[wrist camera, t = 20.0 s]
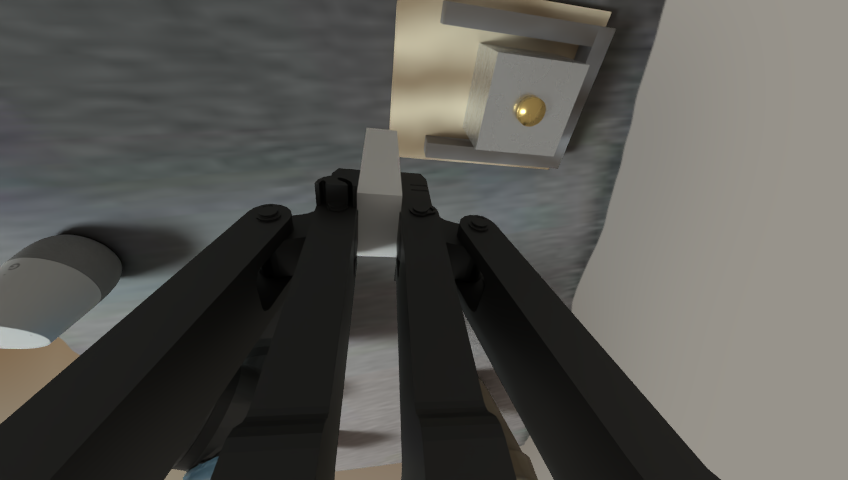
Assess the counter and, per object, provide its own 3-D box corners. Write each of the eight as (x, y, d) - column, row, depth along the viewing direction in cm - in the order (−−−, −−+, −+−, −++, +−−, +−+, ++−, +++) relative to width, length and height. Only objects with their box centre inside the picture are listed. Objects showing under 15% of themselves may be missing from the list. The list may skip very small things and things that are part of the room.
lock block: (529, 133, 36) (557, 159, 30) (462, 127, 34) (477, 152, 29) (556, 53, 31) (594, 66, 25) (479, 42, 30) (501, 53, 24)
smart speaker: (74, 280, 44) (-30, 374, 33) (23, 228, 38) (-122, 320, 27) (145, 277, 45) (67, 367, 34) (106, 225, 39) (-4, 313, 28)
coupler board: (544, 165, 40) (556, 178, 37) (388, 151, 37) (388, 164, 34) (604, 11, 30) (627, 12, 27) (398, -24, 27) (399, -27, 24)
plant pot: (514, 354, 67) (557, 475, 50) (498, 406, 82) (527, 512, 65) (399, 364, 65) (403, 493, 48) (404, 415, 81) (408, 527, 64)
